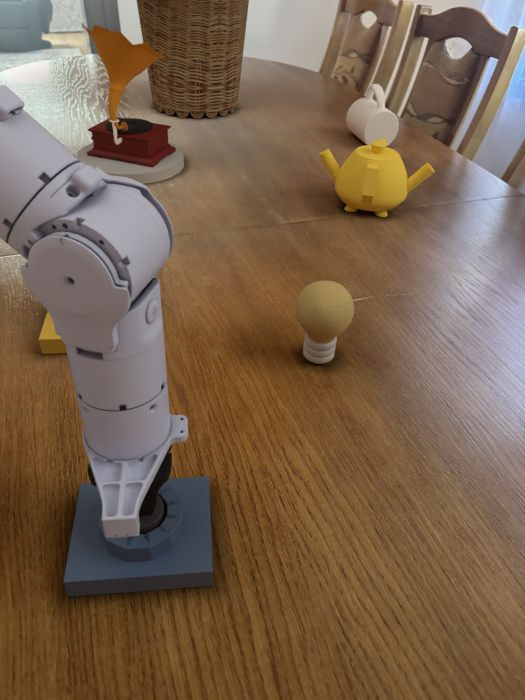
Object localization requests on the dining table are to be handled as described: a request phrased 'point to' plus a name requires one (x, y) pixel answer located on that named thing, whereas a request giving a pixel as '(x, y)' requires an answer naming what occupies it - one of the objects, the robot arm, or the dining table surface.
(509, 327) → the dining table surface
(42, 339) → the block
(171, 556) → the block
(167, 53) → the wicker basket
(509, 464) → the dining table surface
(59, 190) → the robot arm
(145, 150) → the gramophone
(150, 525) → the button
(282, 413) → the dining table surface
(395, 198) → the teapot
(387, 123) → the mug
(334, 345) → the light bulb
